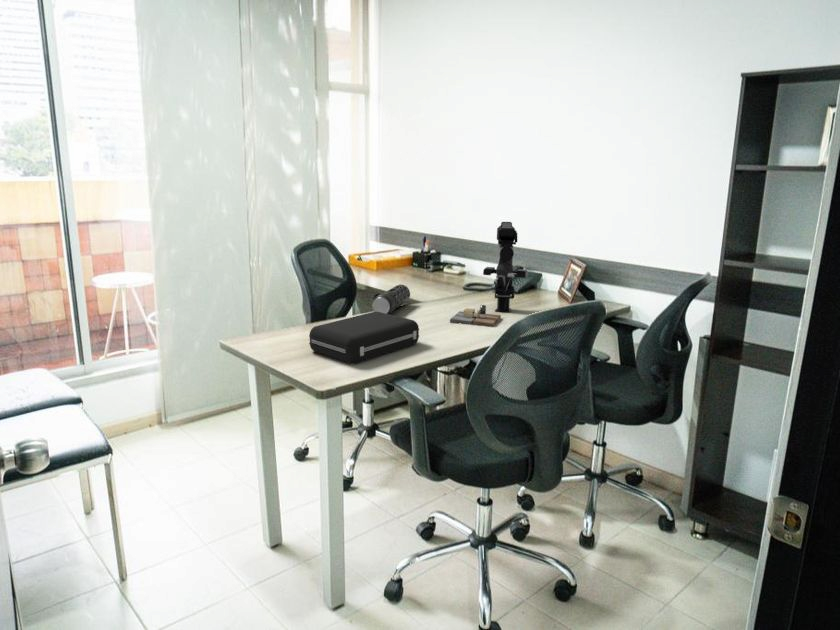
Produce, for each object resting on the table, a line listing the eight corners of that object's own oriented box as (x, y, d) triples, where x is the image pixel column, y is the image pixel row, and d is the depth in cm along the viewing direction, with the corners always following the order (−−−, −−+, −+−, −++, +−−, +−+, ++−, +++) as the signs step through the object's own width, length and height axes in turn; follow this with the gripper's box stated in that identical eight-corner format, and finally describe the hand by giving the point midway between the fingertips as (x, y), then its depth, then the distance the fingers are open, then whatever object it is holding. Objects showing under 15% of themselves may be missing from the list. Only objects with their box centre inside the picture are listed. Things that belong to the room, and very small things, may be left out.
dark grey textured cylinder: (410, 305, 300) (410, 284, 297) (391, 319, 274) (390, 296, 271) (392, 304, 302) (392, 283, 300) (370, 318, 276) (370, 295, 274)
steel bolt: (467, 315, 275) (468, 303, 274) (486, 316, 272) (486, 305, 271) (466, 316, 273) (466, 304, 271) (484, 318, 270) (485, 306, 269)
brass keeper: (465, 315, 276) (466, 308, 275) (480, 316, 274) (480, 309, 273) (463, 317, 272) (463, 310, 272) (478, 318, 270) (478, 311, 269)
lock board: (459, 314, 283) (459, 311, 282) (500, 318, 277) (500, 315, 276) (449, 322, 269) (449, 319, 269) (492, 326, 263) (493, 323, 263)
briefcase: (366, 329, 259) (365, 306, 256) (422, 345, 239) (423, 319, 236) (295, 348, 233) (294, 323, 230) (352, 368, 212) (352, 340, 210)
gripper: (480, 257, 266) (479, 293, 270) (524, 260, 260) (522, 297, 264) (486, 254, 277) (485, 288, 281) (528, 256, 271) (527, 291, 275)
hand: (504, 291), depth 275 cm, fingers closed
